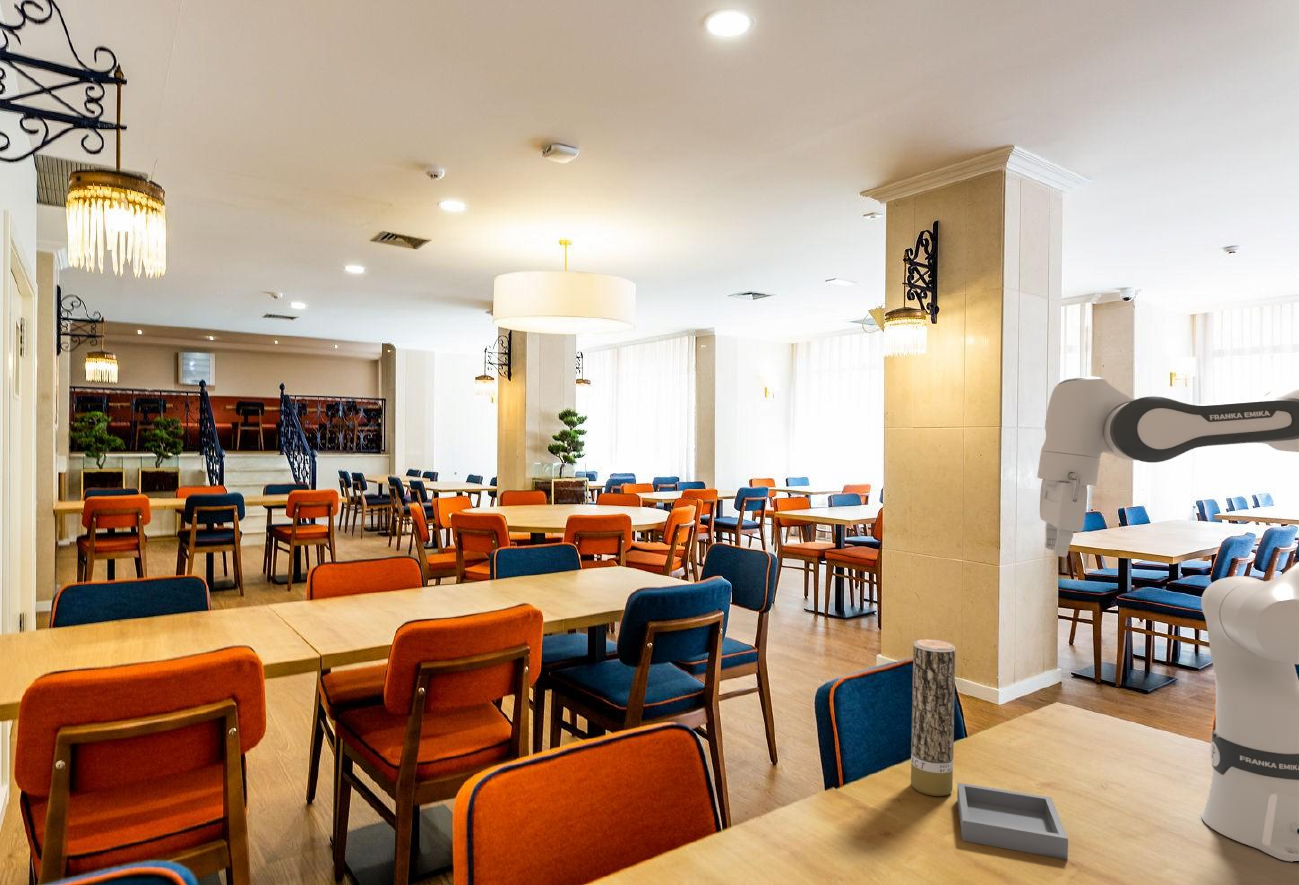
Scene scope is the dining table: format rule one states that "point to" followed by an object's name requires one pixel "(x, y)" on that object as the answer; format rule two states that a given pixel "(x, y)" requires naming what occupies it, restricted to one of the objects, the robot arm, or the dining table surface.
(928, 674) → the paper tube
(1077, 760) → the dining table surface
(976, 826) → the tray
